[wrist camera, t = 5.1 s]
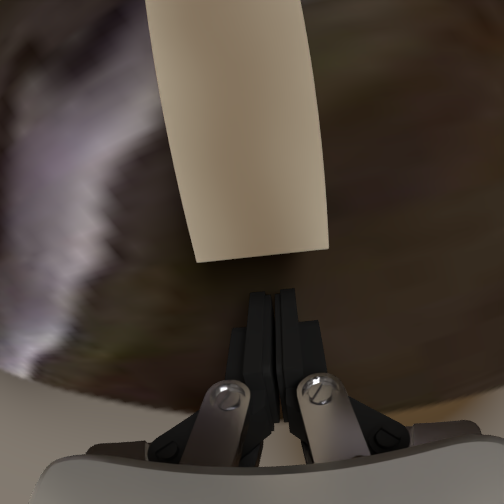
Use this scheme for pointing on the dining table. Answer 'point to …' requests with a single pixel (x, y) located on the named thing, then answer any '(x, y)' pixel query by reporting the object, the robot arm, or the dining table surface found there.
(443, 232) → the dining table surface
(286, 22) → the bar
